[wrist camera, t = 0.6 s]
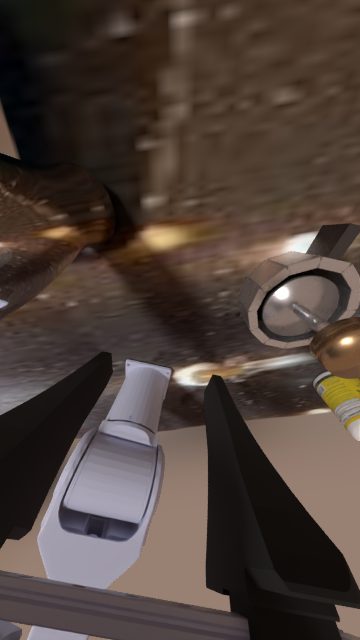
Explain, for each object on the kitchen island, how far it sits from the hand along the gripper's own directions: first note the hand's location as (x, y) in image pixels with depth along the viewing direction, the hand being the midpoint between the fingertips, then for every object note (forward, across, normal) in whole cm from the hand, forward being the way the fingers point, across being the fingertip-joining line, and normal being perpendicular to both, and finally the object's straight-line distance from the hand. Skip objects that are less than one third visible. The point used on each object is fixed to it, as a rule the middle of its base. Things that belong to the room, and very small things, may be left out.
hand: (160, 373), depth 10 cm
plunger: (+7, -11, -5) cm, 14 cm away
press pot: (+10, -11, -6) cm, 16 cm away
